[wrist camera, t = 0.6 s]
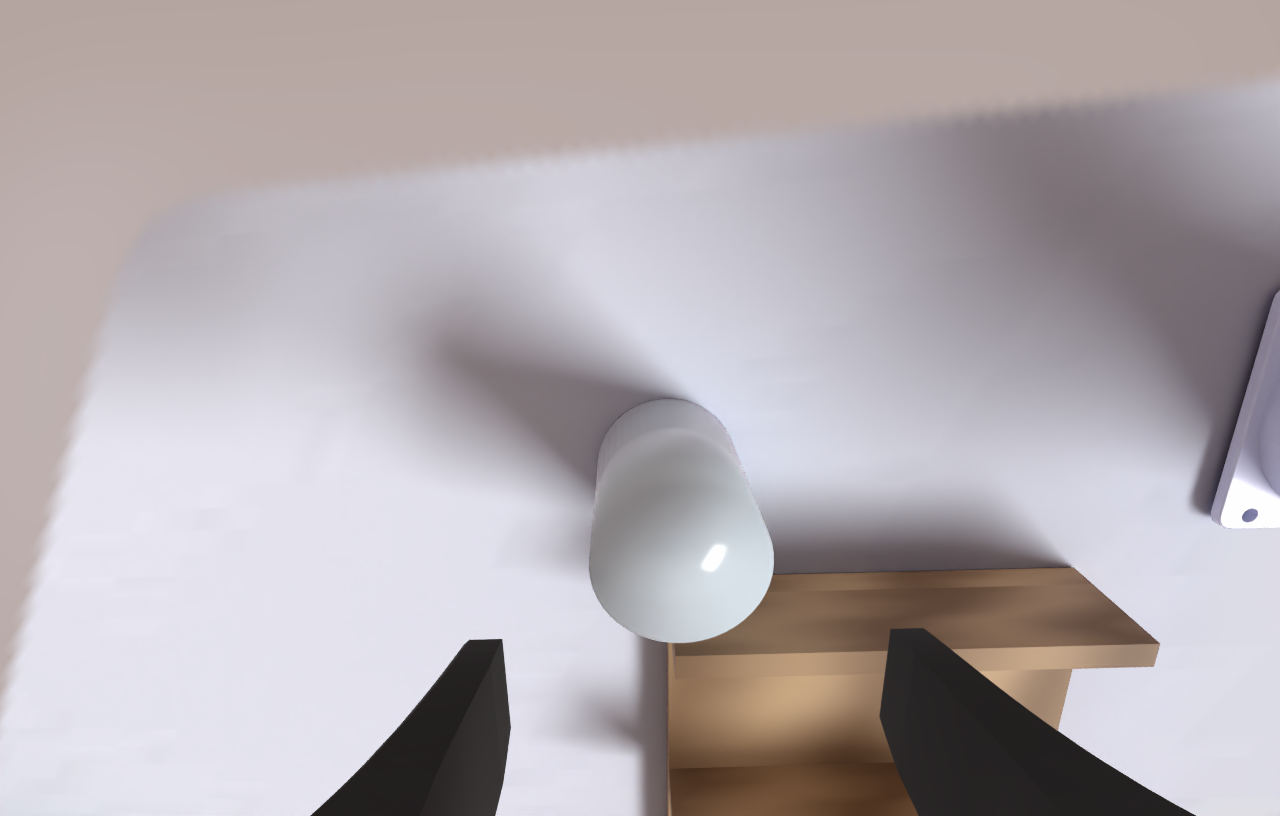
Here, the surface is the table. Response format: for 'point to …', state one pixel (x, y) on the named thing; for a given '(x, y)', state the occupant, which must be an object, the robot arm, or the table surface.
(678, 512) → the cylinder
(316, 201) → the table surface
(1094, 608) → the rack
